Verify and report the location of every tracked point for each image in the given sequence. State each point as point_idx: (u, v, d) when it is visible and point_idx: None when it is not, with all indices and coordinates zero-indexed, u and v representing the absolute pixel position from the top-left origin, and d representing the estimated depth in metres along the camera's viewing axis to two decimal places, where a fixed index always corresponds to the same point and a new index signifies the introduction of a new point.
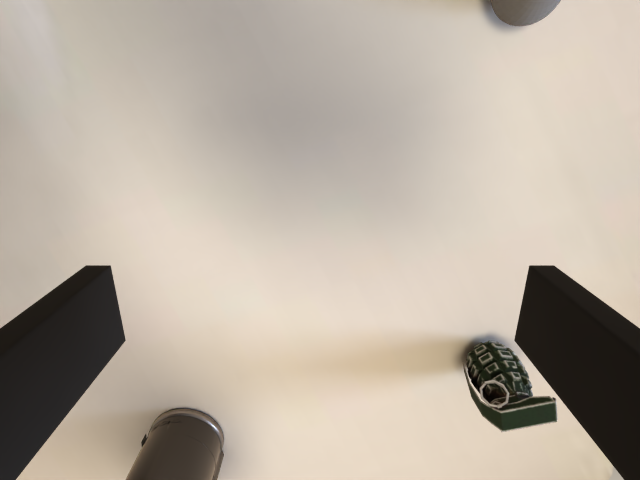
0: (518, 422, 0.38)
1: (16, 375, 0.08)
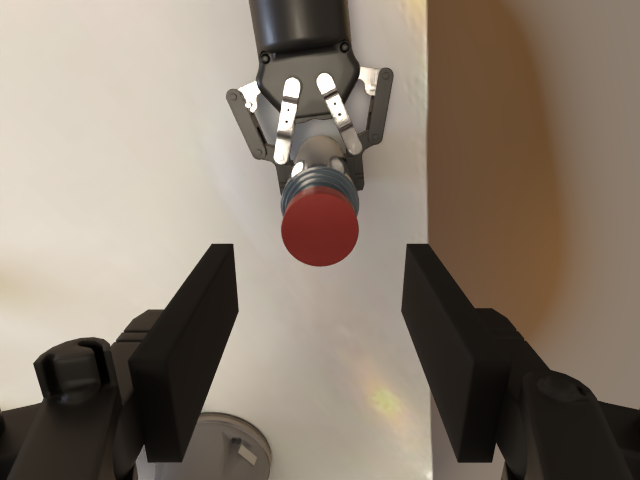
0: None
1: (200, 326, 0.10)
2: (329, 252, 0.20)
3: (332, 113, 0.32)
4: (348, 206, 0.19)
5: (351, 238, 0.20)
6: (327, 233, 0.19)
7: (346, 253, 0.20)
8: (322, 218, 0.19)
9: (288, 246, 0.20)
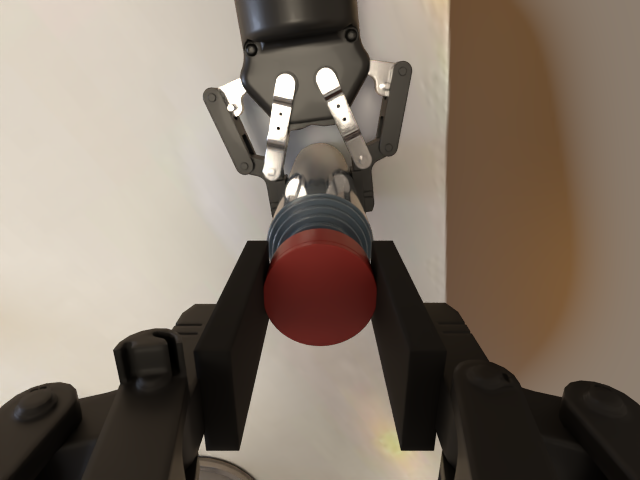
0: None
1: (249, 320, 0.10)
2: (334, 327, 0.13)
3: (335, 118, 0.26)
4: (363, 262, 0.13)
5: (366, 307, 0.13)
6: (330, 301, 0.13)
7: (358, 327, 0.13)
8: (323, 280, 0.13)
9: (273, 318, 0.13)
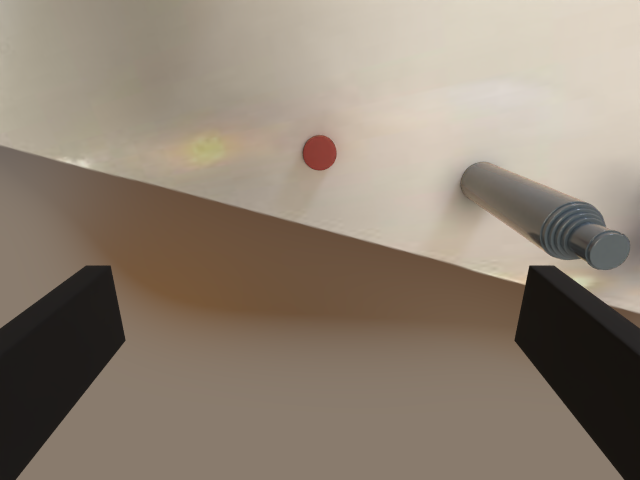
0: None
1: (16, 375, 0.08)
2: (311, 160, 0.45)
3: None
4: None
5: (319, 167, 0.46)
6: (319, 157, 0.45)
7: (312, 167, 0.46)
8: (325, 153, 0.45)
9: (309, 141, 0.45)
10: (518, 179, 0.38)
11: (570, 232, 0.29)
